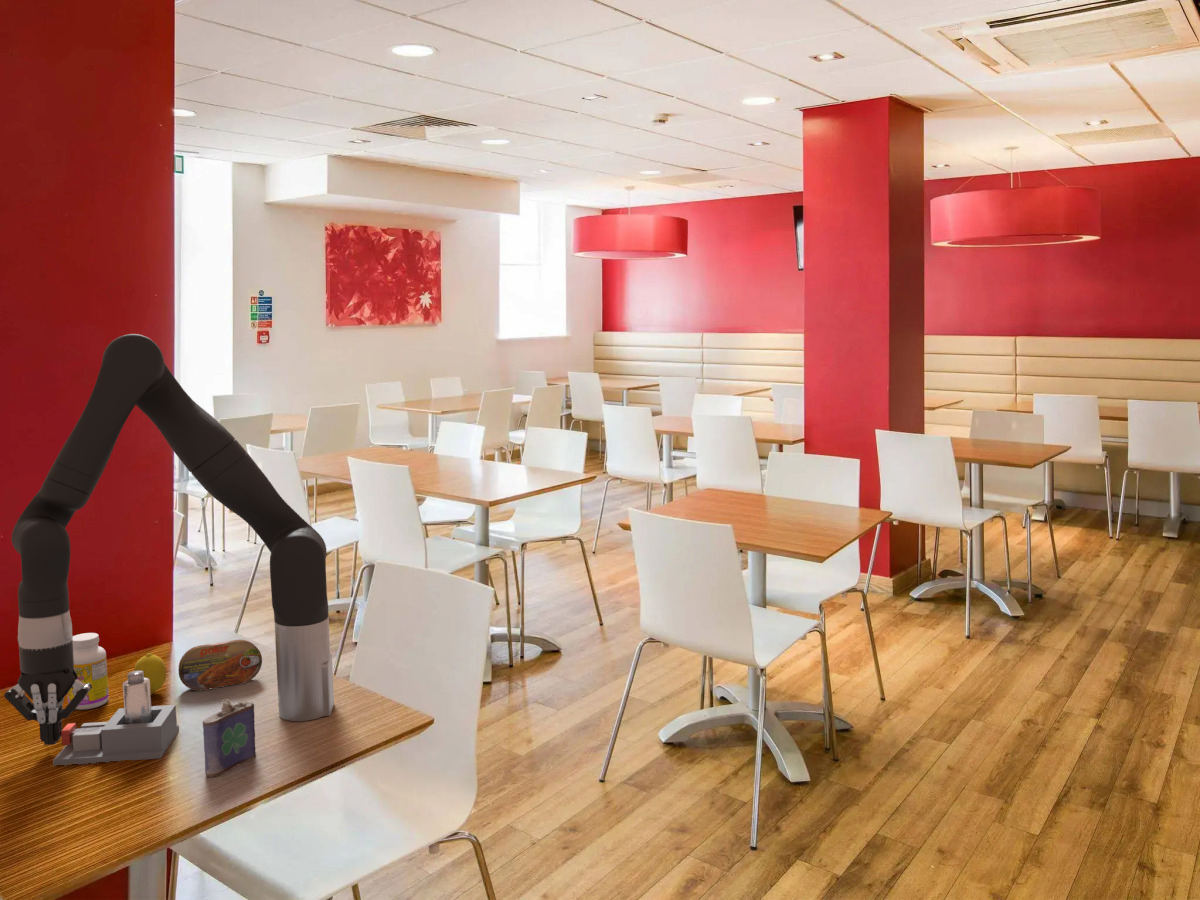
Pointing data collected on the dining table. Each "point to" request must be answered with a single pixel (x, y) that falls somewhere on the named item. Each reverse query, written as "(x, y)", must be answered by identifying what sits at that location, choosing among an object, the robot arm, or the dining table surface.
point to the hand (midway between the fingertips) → (51, 742)
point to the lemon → (152, 670)
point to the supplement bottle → (90, 670)
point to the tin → (219, 664)
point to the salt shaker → (137, 698)
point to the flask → (229, 738)
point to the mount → (122, 739)
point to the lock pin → (71, 729)
